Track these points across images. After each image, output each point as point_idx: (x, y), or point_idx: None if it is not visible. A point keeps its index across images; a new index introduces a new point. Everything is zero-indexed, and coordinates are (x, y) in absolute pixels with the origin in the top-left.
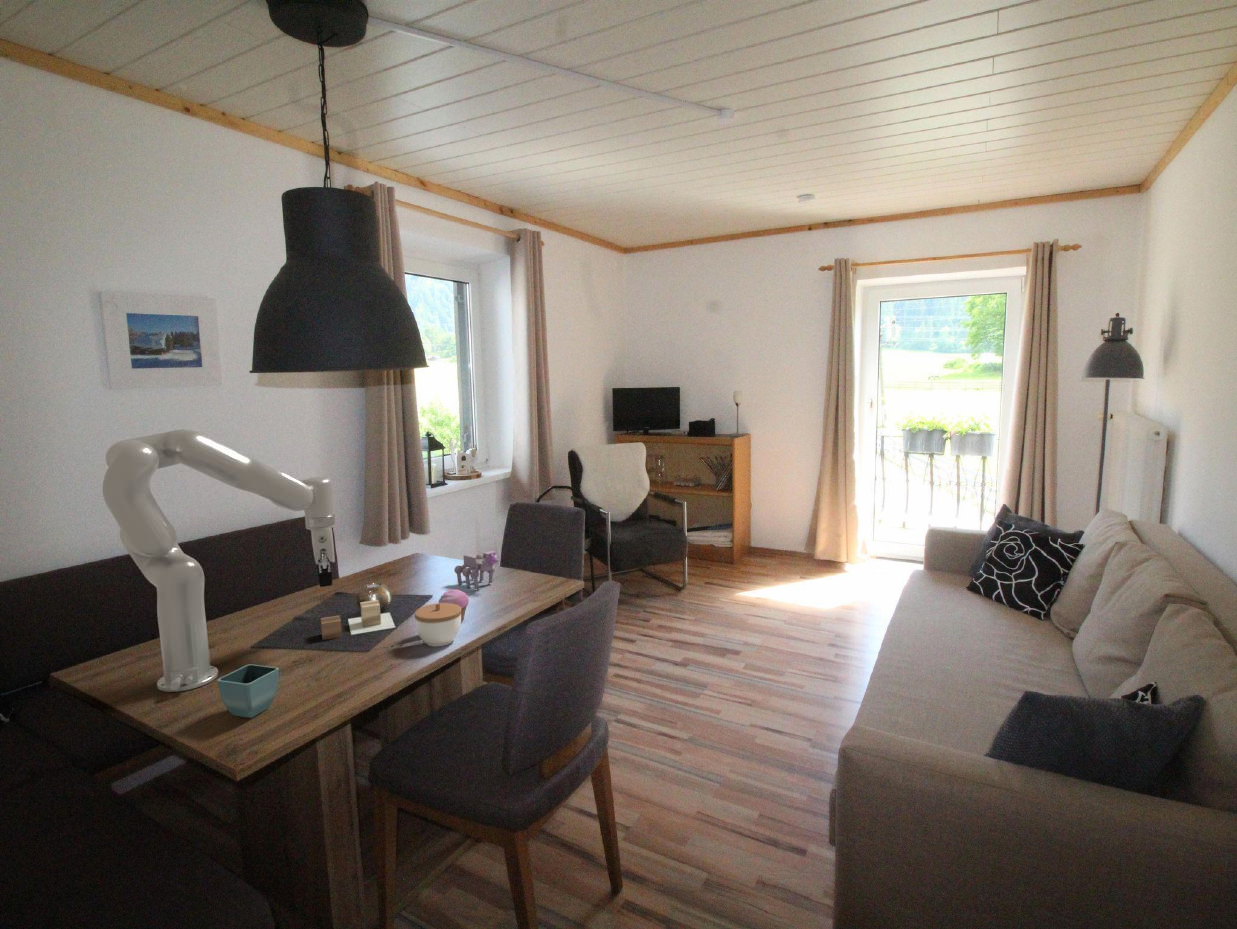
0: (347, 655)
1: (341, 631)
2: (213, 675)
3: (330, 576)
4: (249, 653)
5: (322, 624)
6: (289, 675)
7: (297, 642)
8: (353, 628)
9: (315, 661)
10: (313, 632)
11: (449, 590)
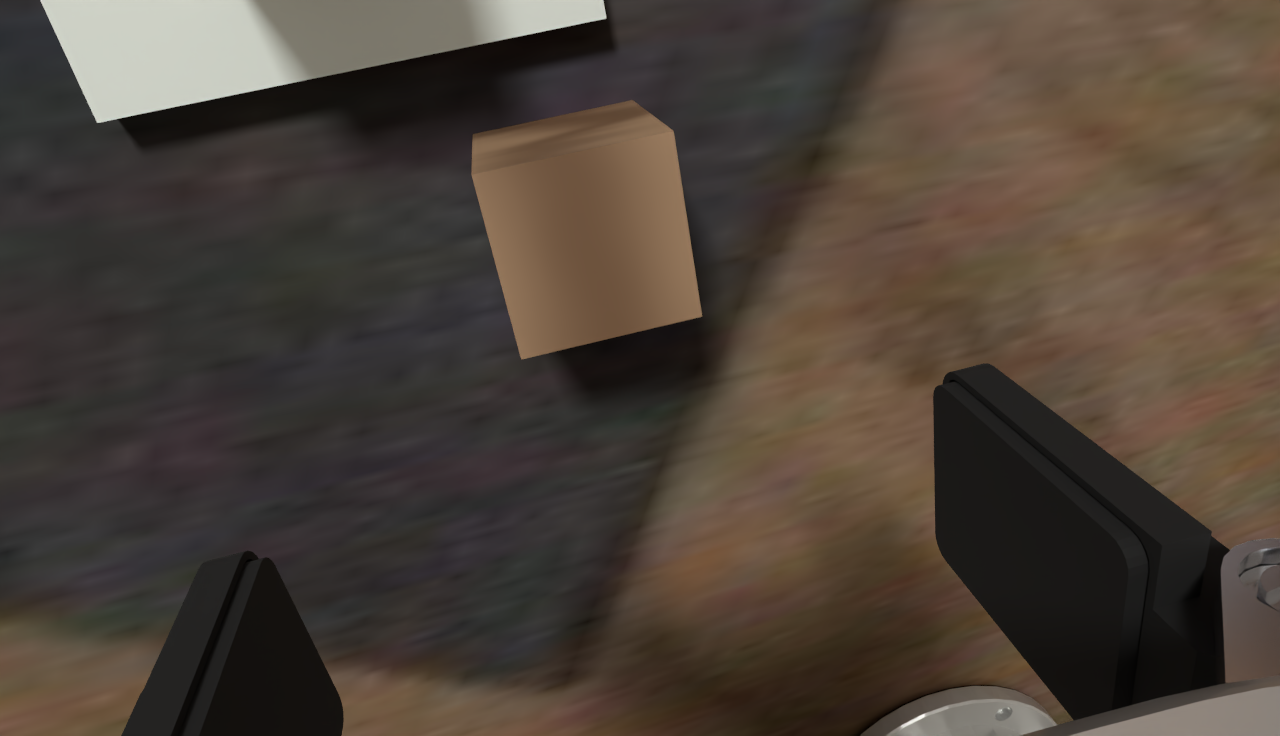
0: (980, 3)
1: (648, 114)
2: (999, 703)
3: (1107, 475)
4: (670, 660)
5: (697, 305)
6: (1125, 346)
7: (558, 446)
8: (427, 18)
9: (982, 236)
10: (352, 386)
11: None
